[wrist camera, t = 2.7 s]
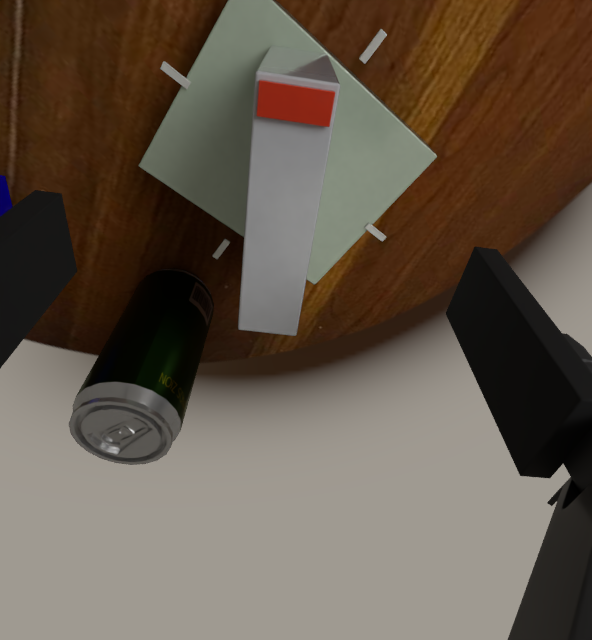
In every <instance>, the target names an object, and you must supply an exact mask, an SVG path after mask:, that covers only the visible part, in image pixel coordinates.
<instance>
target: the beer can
mask: <svg viewBox="0 0 592 640" xmlns="http://www.w3.org/2000/svg"><path fill="white" fill-rule="evenodd" d="M213 308H214V303H213V300H212V296H211V294H210V291H209V289H208V288H207V287H206V285H205V284H204V282H203V281H202V280H200V279H199V278H198V277H197V276H196V275H194V274H192V273H190V272H187V271H185V270H181V269H175V268H170V269H162V270H159V271H157V272H154V273H152V274H150V275H147V276H146V277H145V278H144V279H143V280H142V281H141V282H140V284H139V285H138V287H137V289H136V291H135V292H134V294H133V296H132V298H131V300H130V301H129V303H128V305H127V307H126V309H125V310H124V312H123V314H122V316H121V317H120V319H119V321H118V323H117V325H116V326H115V328H114V330H113V332H112V333H111V335H110V337H109V339H108V341H107V342H106V344H105V346H104V348H103V350H102V351H101V353H100V355H99V357H98V358H97V360H96V362H95V364H94V366H93V367H92V369H91V371H90V373H89V374H88V376H87V378H86V380H85V382H84V384H83V385H82V387H81V389H80V391H79V392H78V394H77V396H76V398H75V401H74V404H73V414H72V416H71V419H70V422H69V427H70V432H71V435H72V436H73V438H74V439H75V440H76V442H77V443H78V444H79V445H80V446H81V447H83V448H84V449H85V450H86V451H88V452H90V453H92V454H93V455H96V456H97V457H99V458H102V459H105V460H108V461H111V462H115V463H122V464H130V465H133V464H146V463H149V462H153V461H156V460H158V459H160V458H161V457H163V456H164V455H166V454H167V452H168V451H169V449H170V447H171V445H172V442H173V441H174V440H175V439H176V437H177V435H178V434H179V432H180V430H181V427H182V423H183V419H184V416H185V412H186V409H187V405H188V401H189V398H190V394H191V391H192V387H193V384H194V380H195V376H196V373H197V369H198V365H199V362H200V358H201V355H202V351H203V348H204V344H205V341H206V337H207V333H208V330H209V326H210V323H211V319H212V315H213Z"/></svg>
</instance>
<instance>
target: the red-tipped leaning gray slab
mask: <svg viewBox="0 0 592 640" xmlns="http://www.w3.org/2000/svg"><path fill="white" fill-rule="evenodd" d="M339 92H340V83H339V81H338V78H337V76H336V74H335V71H334V69H333V66H332V64H331V61H330V59H329V56H328V55H327V54H325V53H318V52H312V51H306V50H300V49H294V48H288V47H281V46H275V45H272V46H271V47H270V49H269V50H268V52H267V54H266V56H265V57H264V59H263V61H262V62H261V64H260V66H259V68H258V69H257V71H256V73H255V84H254V99H253V113H252V128H251V143H250V157H249V172H248V187H247V201H246V216H245V231H244V245H243V260H242V275H241V289H240V304H239V318H238V329H240V330H248V331H256V332H265V333H274V334H283V335H292V336H296V334H297V329H298V323H299V318H300V312H301V306H302V301H303V295H304V289H305V284H306V278H307V273H308V267H309V261H310V256H311V250H312V244H313V239H314V233H315V227H316V222H317V216H318V211H319V205H320V199H321V194H322V188H323V182H324V177H325V171H326V166H327V160H328V154H329V149H330V143H331V137H332V132H333V126H334V120H335V115H336V109H337V104H338V98H339Z"/></svg>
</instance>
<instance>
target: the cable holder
mask: <svg viewBox="0 0 592 640" xmlns="http://www.w3.org/2000/svg"><path fill="white" fill-rule="evenodd" d="M11 208H12V203H11V199H10V195H9V190H8V186H7V182H6V177H5V176H2V175H0V216H2V215H3V214H4V213H6V212H7V211H8V210H10V209H11Z"/></svg>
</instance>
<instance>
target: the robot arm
mask: <svg viewBox="0 0 592 640" xmlns="http://www.w3.org/2000/svg"><path fill="white" fill-rule="evenodd" d="M76 272H77V268H76V263H75V258H74V253H73V248H72V243H71V238H70V234H69V229H68V224H67V219H66V214H65V209H64V204H63V199H62V194H60V193H53V192H45V191H37V190H35V191H34V192H32V193H31V194H30V195H28V196H27V197H26V198H24V199H23V200H22V201H20V202H19V203H18V204H16V205H15V206H14V207H12V208H11V209H10V210H8V211H7V212H6V213H4V214H3V215H2V216H0V368H1V366H2V365H3V364H4V363H5V362H6V360H7V359H8V358H9V356H10V355H11V354H12V353H13V351H14V350H15V349H16V348H17V346H18V345H19V344H20V342H21V341H22V340H23V339H24V338H25V336H26V335H27V334H28V333H29V331H30V330H31V329H32V328H33V326H34V325H35V324H36V322H37V321H38V320H39V319H40V317H41V316H42V315H43V314H44V312H45V311H46V310H47V309H48V307H49V306H50V305H51V304H52V302H53V301H54V300H55V298H56V297H57V296H58V295H59V293H60V292H61V291H62V290H63V288H64V287H65V286H66V285H67V283H68V282H69V281H70V280H71V278H72V277H73V276H74V275H75V273H76ZM446 315H447V317H448V319H449V322H450V324H451V326H452V328H453V330H454V332H455V335H456V337H457V339H458V341H459V343H460V346H461V348H462V350H463V352H464V354H465V357H466V359H467V361H468V363H469V365H470V367H471V370H472V372H473V374H474V376H475V378H476V380H477V383H478V385H479V387H480V389H481V391H482V394H483V395H484V398H485V400H486V402H487V404H488V407H489V409H490V411H491V413H492V415H493V417H494V419H495V422H496V424H497V426H498V428H499V431H500V433H501V435H502V437H503V439H504V441H505V444H506V446H507V448H508V450H509V452H510V454H511V457H512V459H513V461H514V463H515V465H516V467H517V470H518V472H519V474H520V476H529V477H541V478H551V476H552V475H553V474H554V473H555V472H556V471H557V470H558V468H559V467H560V466H561V465H562V464H564V465H565V467H566V469H567V470H568V472H569V474H570V476H571V477H570V479H569V480H568V481H567V482H566V483H565V484H564V485H563V486H562V487H561V488H560V489H559V490H558V491H557V492H556V494H555V495H554V496H553V497H552V498H551V499H550V500H549V501H548V504H550V505H551V506H552V505H553V504H554V503H555V502H556V501H557V504H556V507H555V510H554V513H553V515H552V518H551V521H550V524H549V526H548V529H547V532H546V535H545V537H544V540H543V543H542V546H541V548H540V551H539V554H538V557H537V560H536V562H535V565H534V568H533V571H532V574H531V576H530V579H529V582H528V585H527V587H526V590H525V593H524V596H523V599H522V602H521V604H520V607H519V610H518V613H517V616H516V618H515V621H514V624H513V626H512V629H511V632H510V635H509V638H508V640H592V357H591V355H590V354H589V353H588V352H587V350H586V349H585V348H584V347H583V346H582V345H580V344H579V343H578V342H577V341H575V340H574V339H573V338H571V337H570V336H569V335H568V334H562V333H561V332H560V330H559V329H558V328H557V326H556V325H555V324H554V323H553V321H552V320H551V319H550V317H549V316H548V315H547V314H546V312H545V311H544V310H543V308H542V307H541V306H540V305H539V303H538V302H537V301H536V299H535V298H534V297H533V295H532V294H531V293H530V292H529V290H528V289H527V288H526V287H525V285H524V284H523V283H522V281H521V280H520V279H519V277H518V276H517V275H516V274H515V272H514V271H513V270H512V268H511V267H510V266H509V265H508V263H507V262H506V261H505V259H504V258H503V257H502V255H501V254H500V253H499V252H498V250H496V249H488V248H481V247H474V250H473V252H472V254H471V257H470V259H469V261H468V263H467V266H466V268H465V270H464V273H463V275H462V277H461V280H460V282H459V284H458V286H457V289H456V291H455V293H454V296H453V298H452V300H451V302H450V305H449V307H448V309H447V312H446Z"/></svg>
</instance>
